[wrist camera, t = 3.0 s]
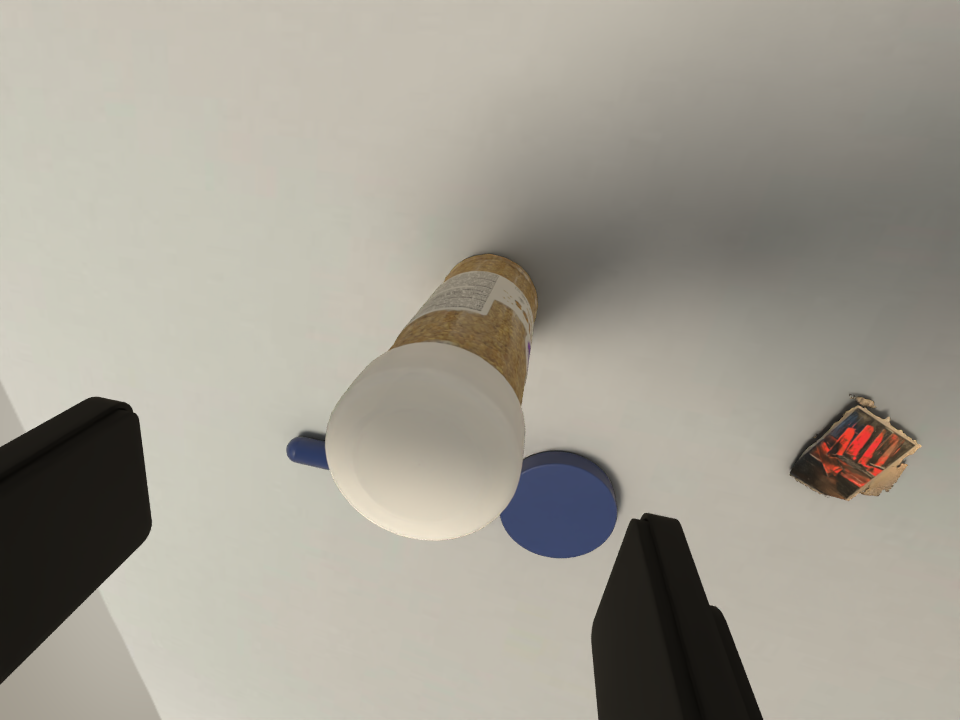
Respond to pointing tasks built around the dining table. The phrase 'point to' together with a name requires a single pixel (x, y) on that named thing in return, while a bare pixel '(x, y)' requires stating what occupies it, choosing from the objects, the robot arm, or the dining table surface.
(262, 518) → the dining table surface
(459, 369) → the sprinkles bottle
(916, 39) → the dining table surface
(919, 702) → the dining table surface
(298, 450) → the round blue paddle
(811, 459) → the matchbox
